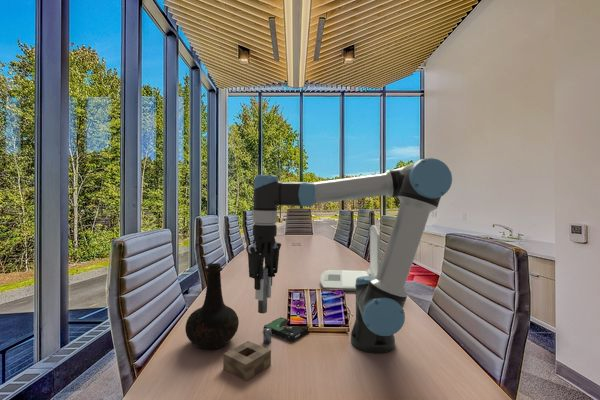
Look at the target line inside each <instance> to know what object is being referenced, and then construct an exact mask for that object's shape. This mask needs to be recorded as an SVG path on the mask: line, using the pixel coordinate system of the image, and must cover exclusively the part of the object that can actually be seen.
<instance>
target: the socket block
mask: <svg viewBox="0 0 600 400" xmlns="http://www.w3.org/2000/svg"><path fill="white" fill-rule="evenodd" d="M222 355H223V357H222V359H223V361H222V363H223V367H222V368H223V370H225V371H226V372H229V373H231V374H233V375H235V376H237V377H238V378H240V379H242V380H244V381H245V382H247V381H248V380H250V379H252V378H253V377H254V376H257V375H258V374H259V373H261V372H263V371H264V370H265V369H267V368H269V367H270V366H271V365H272V356H271V355H272V350H271V349H269V348H266V347H264V346H262V345H259V344H257V343H254V342H252V341H249V340H247V341H245V342H243V343H241V344H238V345H237V346H235V347H233V348H232V349H230V350H228V351H226V352H223V353H222Z"/></svg>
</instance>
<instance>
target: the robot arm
mask: <svg viewBox="0 0 600 400" xmlns="http://www.w3.org/2000/svg"><path fill="white" fill-rule="evenodd" d="M452 182H453V174H452V171H451V170H450V168H449V167H448V165H447V164H446V163H445V162H444V161H442V160H440V159H438V158H433V157H430V158H429V157H427V158H421V159H418V160H416V161H415V162H412V163H408V164H407V165H405V166H403V167H402V166H401V167H399V168H396V169H389V170H386V171H385V172H384V173H380V174H370V175H363V176H354V177H347V178H339V179H331V180H322V181H315V182H307V181H279V177H278V176H277V175H274V174H258V175H256V176H255V177H254V183H253V189H252V190H253V210H252V211H253V212H252V220H253V221H252V222H253V223H254V224H252V236H253V238H254V239H253V242H252V244H250V245H249V246H246V248H245V250H246V252H247V261H248V276H249V278H251V279H253V281H254V283H253V284H254V285H253V286H254V287H253V288H254V290H255V293H254V295H255V298H254V299H255V300H257V301H258V300H260V301H262V300H263V283H264V279H261V278H262V271H263V267H268V291H267V299H271V297H272V286H273V278H275V276H276V274H277V273H278V269H279V260H280V250H281V247H282V243H281V242H277V241H276V238H275V237H277V234H278V233H277V231H278V227H277V226H278V225H276V224H277V223H278V206H280V207H281V206H287V207H289V206H290V207H313V206H314V205H315V204H321V203H322V204H324V203H329V202H331V203H332V202H340V201H341V202H342V201H349V200H356V199H365V198H375V197H383V196H387V197H388V198H390V199H391V198H398V200H399V203H400V206H399V208H398V212H397V214H396V218H395V220H394V223H393V226H392V229H391V233H390V234H389V238H388V241H387V244H386V247H385V250H384V252H383V253H384V254H383V256H382V259H381V260H380V267H379V270H378V273H377V276H362V277H358V278H357V279H356V284H355V287H356V291H355V319H354V320H355V321H354V323H353V326H352V329H351V332H350V342H351V343H350V344H352V346H353V347H355V348H356V349H358V350H361V351H363V352H365V353H371V354H384V353H388V352H392V351H393V350H394V349H395V347H396V340H395V339H396V338H395V334H397V333H398V332H399V331H400V330H401V329H402V328H403V326H404V324H405V322H406V321H405V320H406V315H405V310H404V307H405V306H404V305H405V303H406V301H407V297H408V293H407V290H406V289H405V285H406V283H407V281H408V277H409V274H410V271H411V269H412V265H413V262H414V260H415V257H416V254H417V251H418V249H419V244H420V242H421V239H422V237H423V233H424V230H425V228H426V225H427V221H428V219H429V216H430V213H432V212H433V211H435V210H437V209H438V206H439V204H440V200H441V198H442V197H443V196H444V195H445V194H446V193H448V191H449V190H450V188H451V187H452Z"/></svg>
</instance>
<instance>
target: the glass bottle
mask: <svg viewBox="0 0 600 400" xmlns="http://www.w3.org/2000/svg"><path fill="white" fill-rule="evenodd" d="M204 271H205V272H207V278H206V279H207V280H206V291H205V297H204V301H203V304H202V306H201V307H199V308H196V309H195V310H193V312H191V313H190V315H189V316H188V318H187V320H186V323H185V328H184V329H185V334H186V337H187V339H188V340H189V342H191V344H193V345H194V346H196V347H199V348H201V349H205V350H212V349H213V350H214V349H218V348H220V347H224V346H226V344H228V343H229V342H230V341H231V340H232V339H233V337H234V336H235V335H236V334H237V331H238V329H239V322H240V321H239V316H238V315H237V312H236V311H235V310H234V309H233V308H231V307H230V306H227V305H226V304H225V302H224V297H223V292H222V280H221V279H222V277H221V271H223V267H221V263H219V262H216V263H213V262H210V263H208V264H207V267H206V268H205V270H204Z"/></svg>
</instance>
